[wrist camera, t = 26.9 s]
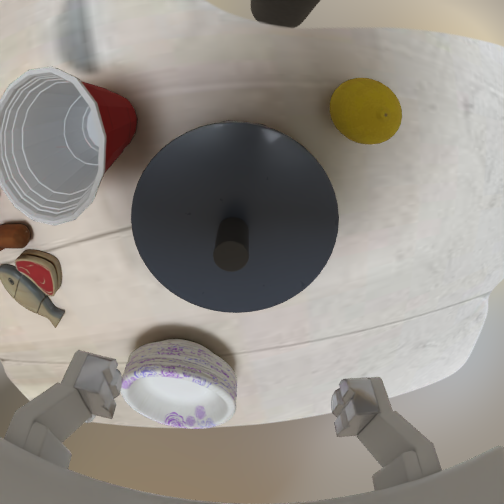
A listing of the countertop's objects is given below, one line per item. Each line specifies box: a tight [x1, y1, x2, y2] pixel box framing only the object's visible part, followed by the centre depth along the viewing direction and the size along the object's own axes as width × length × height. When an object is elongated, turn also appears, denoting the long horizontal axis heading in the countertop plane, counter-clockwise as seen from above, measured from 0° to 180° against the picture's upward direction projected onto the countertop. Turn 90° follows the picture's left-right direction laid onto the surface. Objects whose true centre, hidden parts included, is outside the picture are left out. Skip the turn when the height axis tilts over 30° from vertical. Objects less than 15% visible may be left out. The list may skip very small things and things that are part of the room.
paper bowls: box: [121, 339, 237, 429], centre depth 36 cm, size 15×15×8 cm
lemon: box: [330, 78, 402, 144], centre depth 20 cm, size 6×6×8 cm
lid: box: [131, 122, 339, 313], centre depth 22 cm, size 17×17×5 cm
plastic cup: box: [0, 67, 137, 226], centre depth 19 cm, size 11×11×12 cm
